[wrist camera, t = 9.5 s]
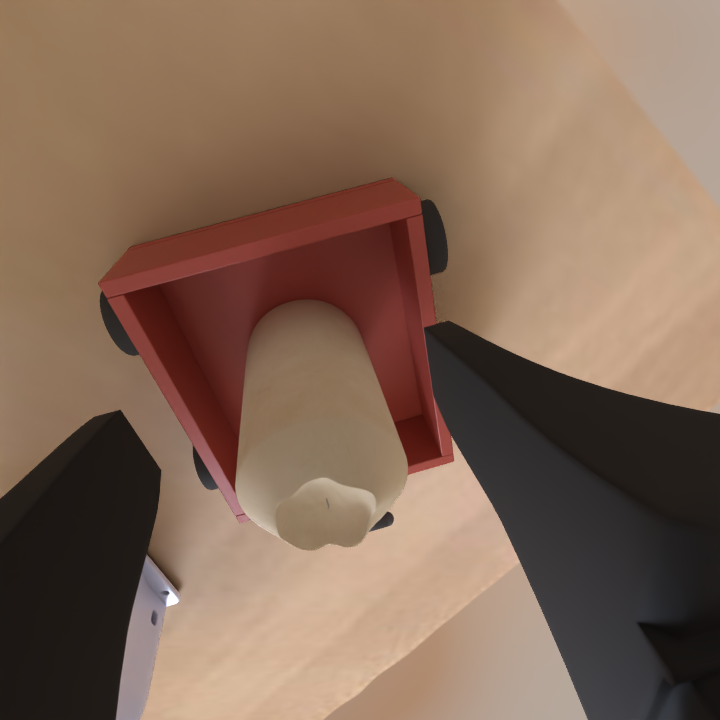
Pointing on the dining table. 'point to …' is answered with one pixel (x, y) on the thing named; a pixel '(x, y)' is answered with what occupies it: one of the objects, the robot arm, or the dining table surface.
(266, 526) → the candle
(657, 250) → the dining table surface
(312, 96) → the dining table surface
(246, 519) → the cart
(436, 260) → the cart wheels
